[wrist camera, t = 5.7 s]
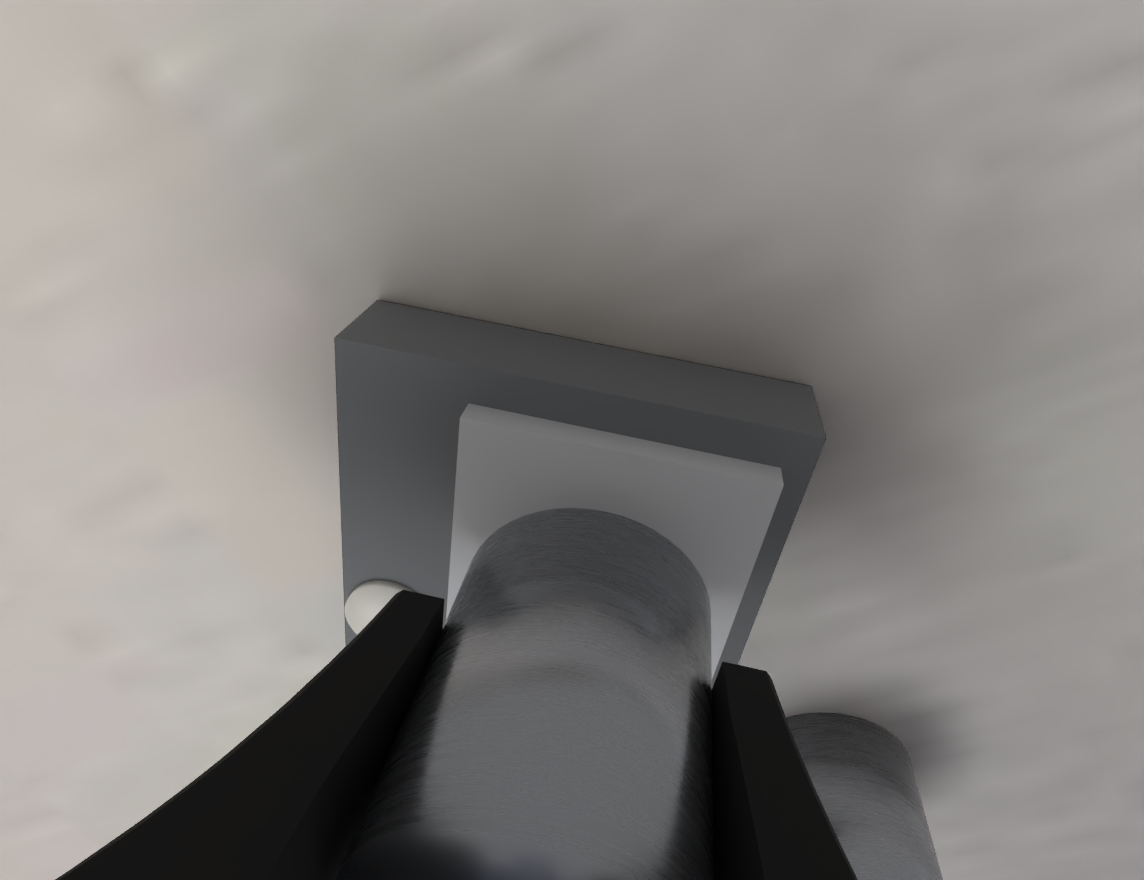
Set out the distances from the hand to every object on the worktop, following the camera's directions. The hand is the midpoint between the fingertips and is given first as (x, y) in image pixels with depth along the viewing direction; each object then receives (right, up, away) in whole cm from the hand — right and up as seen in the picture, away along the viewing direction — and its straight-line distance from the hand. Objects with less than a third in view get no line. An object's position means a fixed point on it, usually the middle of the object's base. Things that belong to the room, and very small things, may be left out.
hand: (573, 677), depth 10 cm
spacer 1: (0, +1, +1) cm, 2 cm away
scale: (-1, 0, +6) cm, 6 cm away
